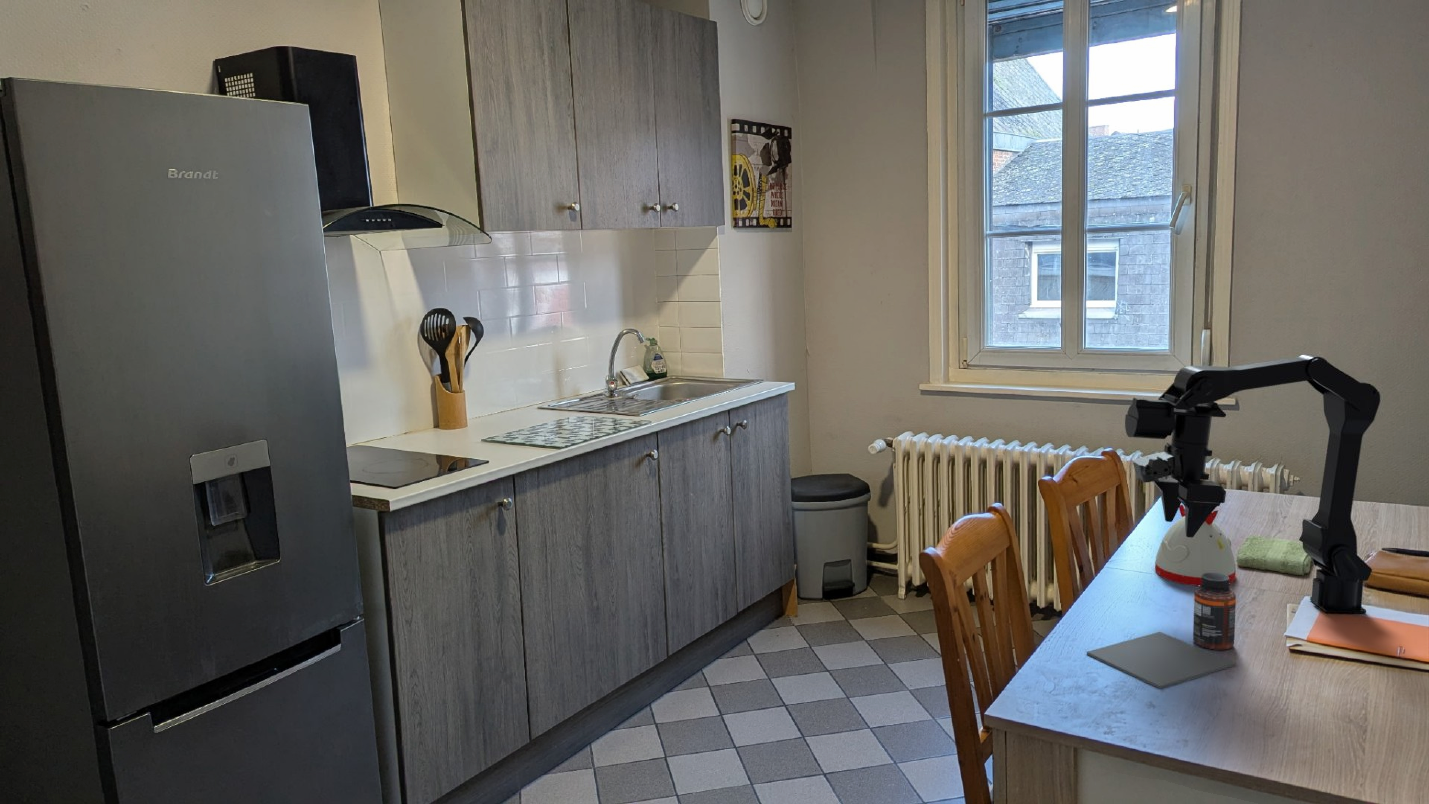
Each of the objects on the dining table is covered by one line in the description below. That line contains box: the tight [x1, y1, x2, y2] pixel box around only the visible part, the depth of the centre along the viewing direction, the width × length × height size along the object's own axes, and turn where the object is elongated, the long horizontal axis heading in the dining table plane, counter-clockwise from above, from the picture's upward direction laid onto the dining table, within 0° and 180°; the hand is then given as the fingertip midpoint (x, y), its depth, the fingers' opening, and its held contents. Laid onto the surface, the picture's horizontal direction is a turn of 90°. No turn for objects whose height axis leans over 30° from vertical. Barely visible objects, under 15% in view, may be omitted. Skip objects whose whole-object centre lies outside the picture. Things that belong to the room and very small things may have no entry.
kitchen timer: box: [1154, 504, 1237, 586], centre depth 190 cm, size 14×14×15 cm
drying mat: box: [1086, 631, 1236, 690], centre depth 154 cm, size 16×14×1 cm
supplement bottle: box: [1192, 573, 1237, 651], centre depth 159 cm, size 6×6×11 cm
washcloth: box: [1235, 534, 1312, 576], centre depth 198 cm, size 13×18×3 cm
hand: (1178, 529), depth 172 cm, fingers open, 9 cm apart
